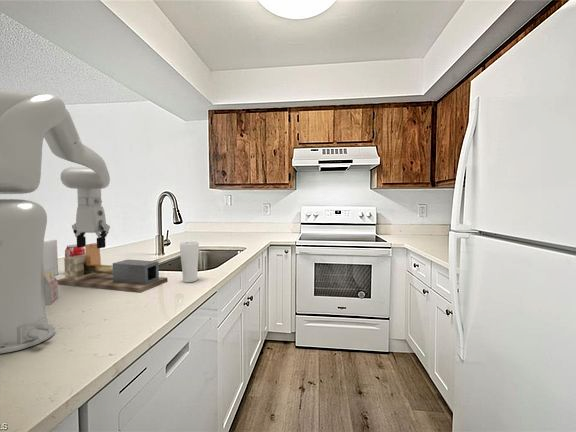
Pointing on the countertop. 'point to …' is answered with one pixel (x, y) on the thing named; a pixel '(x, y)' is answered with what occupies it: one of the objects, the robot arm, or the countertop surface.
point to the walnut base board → (109, 283)
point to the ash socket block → (77, 268)
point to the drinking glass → (189, 260)
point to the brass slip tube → (95, 260)
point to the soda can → (74, 251)
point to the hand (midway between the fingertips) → (91, 247)
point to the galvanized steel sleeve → (136, 272)
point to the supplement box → (50, 255)
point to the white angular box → (50, 287)
